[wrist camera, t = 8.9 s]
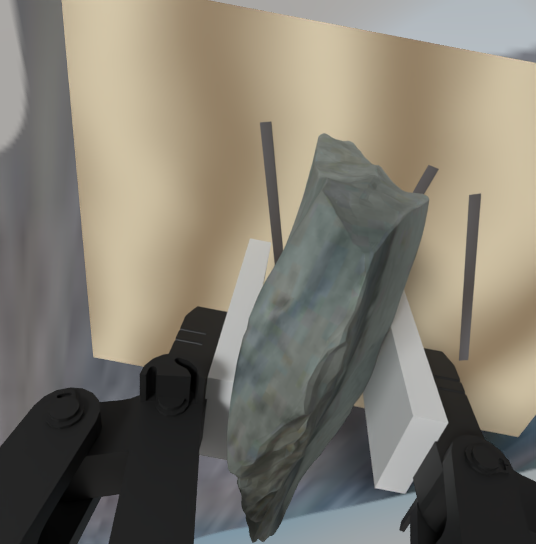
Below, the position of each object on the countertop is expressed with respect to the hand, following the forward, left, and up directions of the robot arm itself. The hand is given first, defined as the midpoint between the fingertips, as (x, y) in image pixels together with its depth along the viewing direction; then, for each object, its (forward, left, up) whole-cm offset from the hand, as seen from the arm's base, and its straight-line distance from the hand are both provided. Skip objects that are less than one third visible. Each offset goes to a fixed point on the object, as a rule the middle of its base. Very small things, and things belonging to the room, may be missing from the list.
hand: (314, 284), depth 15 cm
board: (+1, 0, -4) cm, 4 cm away
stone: (0, 0, -2) cm, 2 cm away
